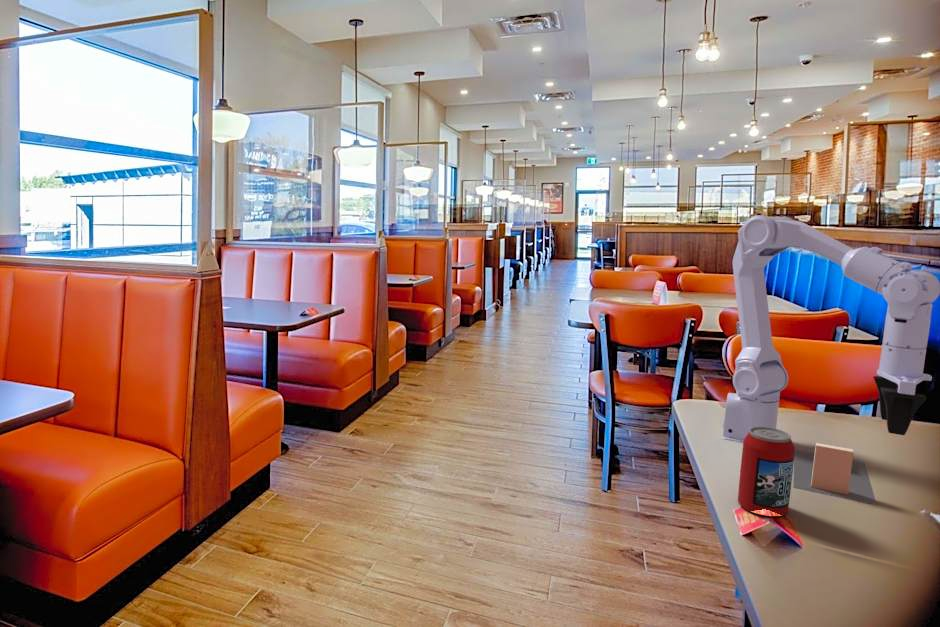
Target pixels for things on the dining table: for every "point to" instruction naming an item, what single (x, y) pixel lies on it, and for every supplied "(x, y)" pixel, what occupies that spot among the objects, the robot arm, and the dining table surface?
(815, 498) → the dining table surface
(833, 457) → the tile
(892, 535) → the dining table surface
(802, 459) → the placemat
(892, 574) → the dining table surface
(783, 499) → the beverage can
